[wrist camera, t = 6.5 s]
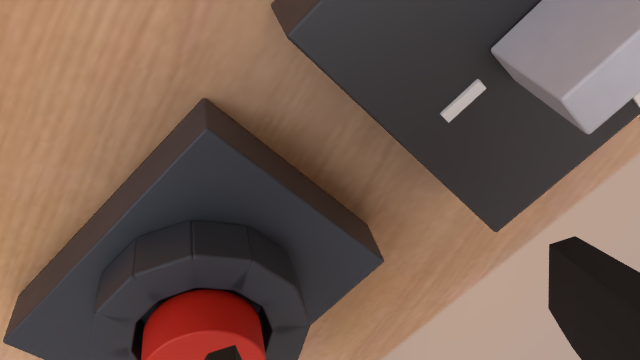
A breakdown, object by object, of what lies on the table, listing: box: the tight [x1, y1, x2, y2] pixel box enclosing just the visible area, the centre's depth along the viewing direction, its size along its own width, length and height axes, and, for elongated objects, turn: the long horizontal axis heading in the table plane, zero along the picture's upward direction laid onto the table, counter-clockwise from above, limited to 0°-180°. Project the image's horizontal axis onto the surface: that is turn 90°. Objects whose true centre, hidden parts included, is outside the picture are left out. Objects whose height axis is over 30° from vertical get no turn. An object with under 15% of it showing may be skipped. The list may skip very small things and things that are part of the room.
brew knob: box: [491, 0, 640, 134], centre depth 14 cm, size 5×1×4 cm, turn 135°
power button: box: [141, 289, 266, 360], centre depth 17 cm, size 4×4×2 cm
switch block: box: [3, 98, 384, 360], centre depth 19 cm, size 10×8×4 cm
